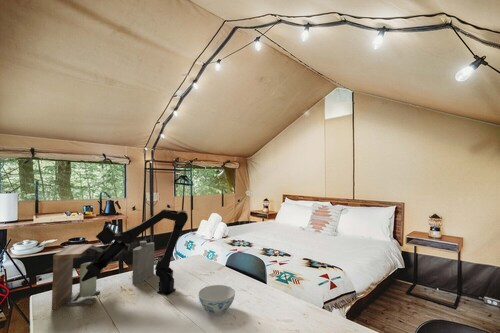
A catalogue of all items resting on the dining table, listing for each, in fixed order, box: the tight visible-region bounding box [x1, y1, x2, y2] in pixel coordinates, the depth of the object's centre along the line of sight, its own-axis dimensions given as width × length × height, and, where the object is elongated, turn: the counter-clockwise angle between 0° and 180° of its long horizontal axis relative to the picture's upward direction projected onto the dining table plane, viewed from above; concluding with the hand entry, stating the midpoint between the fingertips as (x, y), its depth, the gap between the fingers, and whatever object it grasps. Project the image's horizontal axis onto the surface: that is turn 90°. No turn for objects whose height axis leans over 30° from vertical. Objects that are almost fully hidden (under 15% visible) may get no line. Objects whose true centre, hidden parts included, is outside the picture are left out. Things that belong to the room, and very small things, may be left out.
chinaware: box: [198, 284, 236, 317], centre depth 109 cm, size 15×15×8 cm
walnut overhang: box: [51, 243, 101, 311], centre depth 118 cm, size 14×16×22 cm
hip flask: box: [131, 240, 155, 286], centre depth 142 cm, size 16×4×20 cm, turn 166°
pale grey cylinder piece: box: [79, 261, 98, 298], centre depth 119 cm, size 6×6×13 cm
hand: (84, 277), depth 118 cm, fingers closed on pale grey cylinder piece, 6 cm apart
